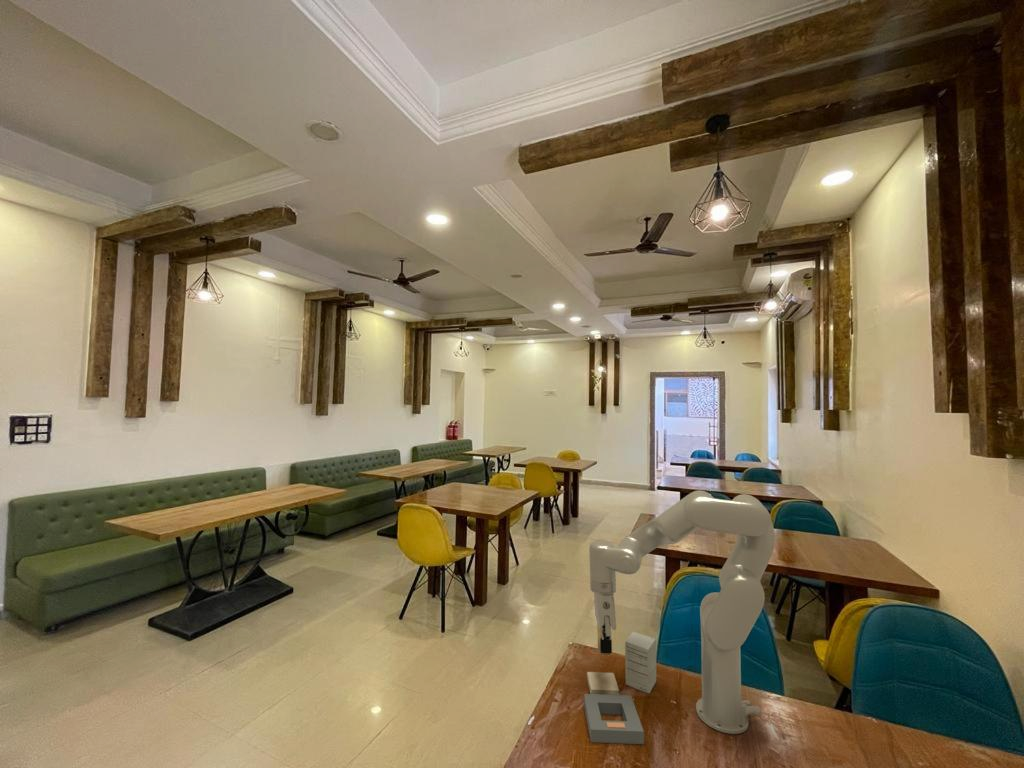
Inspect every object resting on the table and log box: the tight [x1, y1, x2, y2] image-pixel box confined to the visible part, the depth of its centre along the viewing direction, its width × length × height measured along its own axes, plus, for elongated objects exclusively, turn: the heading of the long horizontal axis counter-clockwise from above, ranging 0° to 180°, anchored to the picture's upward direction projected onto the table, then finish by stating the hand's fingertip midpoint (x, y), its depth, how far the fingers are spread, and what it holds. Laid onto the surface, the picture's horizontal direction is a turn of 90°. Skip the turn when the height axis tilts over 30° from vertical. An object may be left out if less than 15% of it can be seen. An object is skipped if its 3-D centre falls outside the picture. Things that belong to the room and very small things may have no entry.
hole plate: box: [583, 693, 645, 745], centre depth 110 cm, size 13×13×3 cm
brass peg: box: [596, 622, 612, 656], centre depth 125 cm, size 4×4×8 cm
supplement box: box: [624, 631, 657, 694], centre depth 127 cm, size 7×7×13 cm
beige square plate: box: [586, 671, 620, 695], centre depth 124 cm, size 8×8×2 cm
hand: (604, 647), depth 125 cm, fingers closed on brass peg, 4 cm apart
